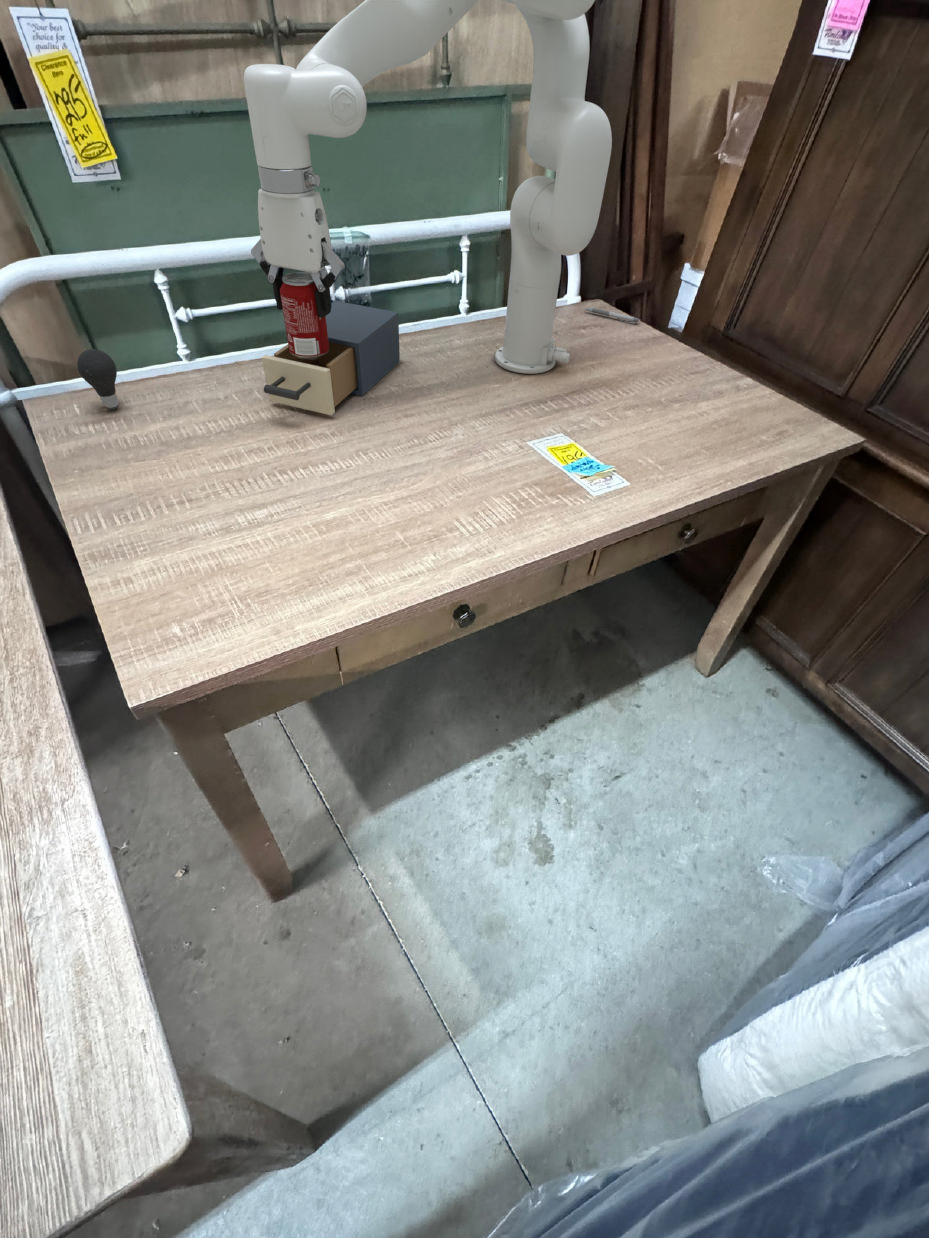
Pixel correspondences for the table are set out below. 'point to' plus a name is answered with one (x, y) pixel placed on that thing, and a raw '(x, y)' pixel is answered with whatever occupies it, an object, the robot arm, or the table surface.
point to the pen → (614, 315)
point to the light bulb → (99, 375)
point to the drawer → (311, 378)
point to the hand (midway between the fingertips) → (304, 310)
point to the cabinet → (366, 339)
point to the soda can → (303, 317)
